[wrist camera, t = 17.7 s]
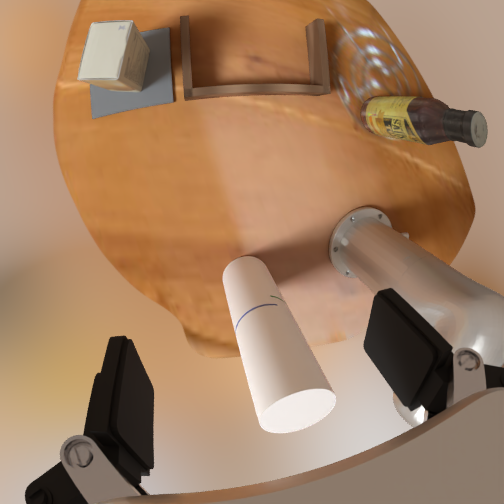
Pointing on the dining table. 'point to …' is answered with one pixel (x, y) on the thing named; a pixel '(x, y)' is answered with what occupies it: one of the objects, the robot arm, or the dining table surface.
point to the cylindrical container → (274, 351)
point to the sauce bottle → (423, 120)
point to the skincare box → (114, 56)
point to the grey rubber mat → (154, 83)
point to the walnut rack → (316, 87)
